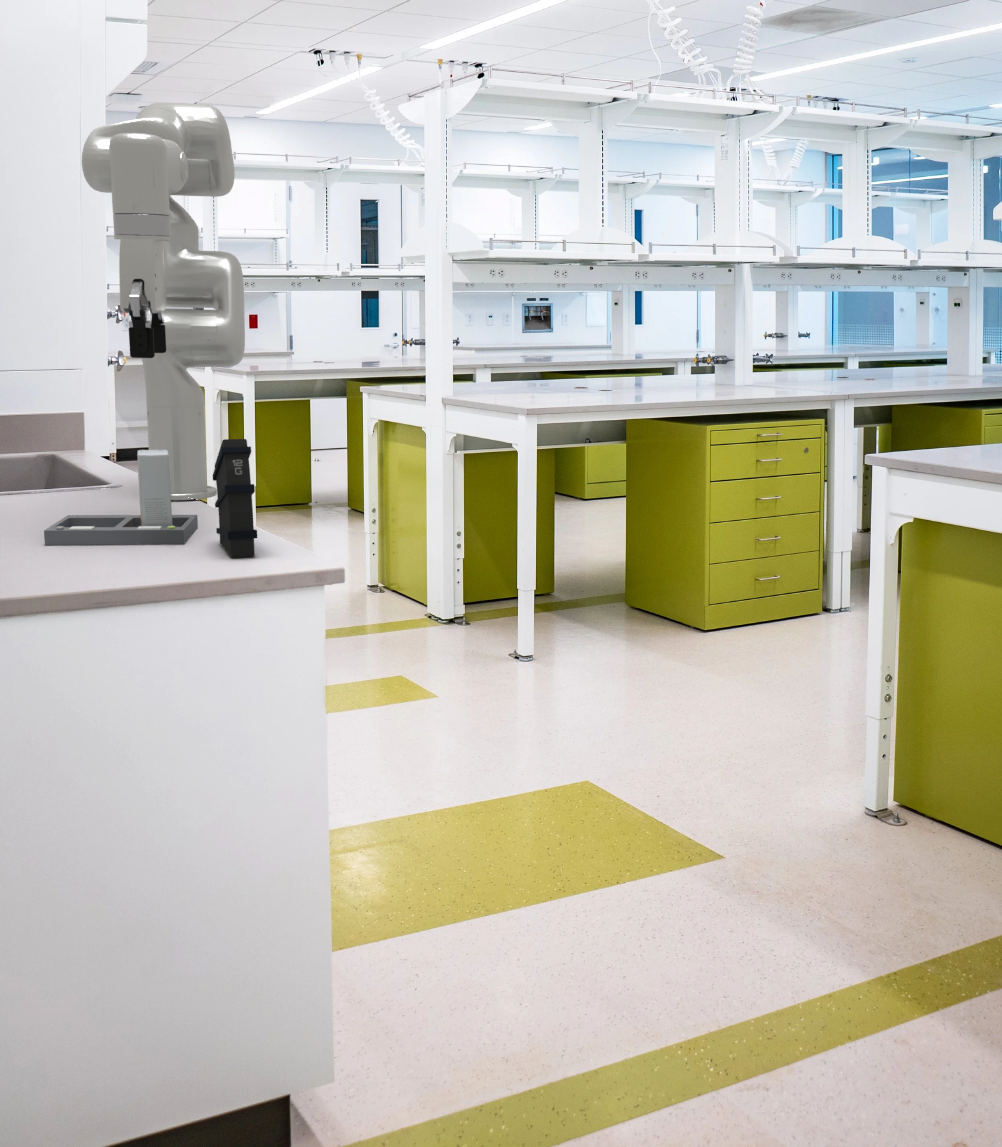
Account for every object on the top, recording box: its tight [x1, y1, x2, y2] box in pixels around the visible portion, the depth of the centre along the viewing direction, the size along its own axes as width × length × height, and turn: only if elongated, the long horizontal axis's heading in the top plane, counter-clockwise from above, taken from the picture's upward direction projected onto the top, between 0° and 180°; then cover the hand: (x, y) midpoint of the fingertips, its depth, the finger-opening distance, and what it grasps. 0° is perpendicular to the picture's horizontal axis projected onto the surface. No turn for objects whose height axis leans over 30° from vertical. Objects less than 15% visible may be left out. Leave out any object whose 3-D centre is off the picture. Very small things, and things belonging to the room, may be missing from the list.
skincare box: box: [136, 449, 173, 527], centre depth 167 cm, size 6×4×12 cm
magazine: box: [212, 438, 258, 559], centre depth 158 cm, size 4×13×15 cm, turn 21°
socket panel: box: [43, 514, 199, 546], centre depth 168 cm, size 13×18×2 cm
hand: (148, 355), depth 168 cm, fingers open, 9 cm apart
